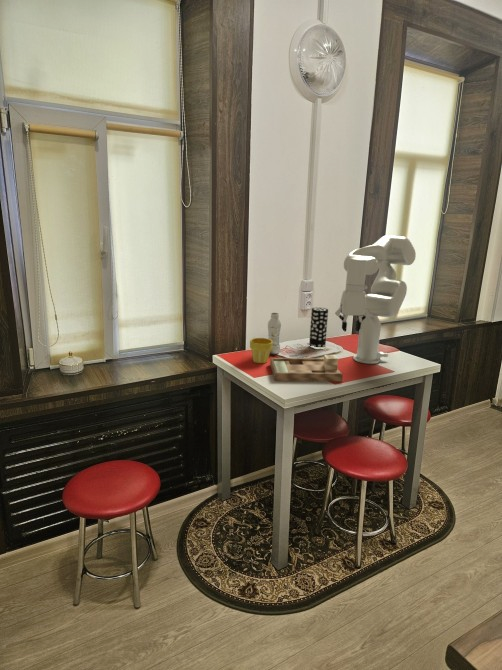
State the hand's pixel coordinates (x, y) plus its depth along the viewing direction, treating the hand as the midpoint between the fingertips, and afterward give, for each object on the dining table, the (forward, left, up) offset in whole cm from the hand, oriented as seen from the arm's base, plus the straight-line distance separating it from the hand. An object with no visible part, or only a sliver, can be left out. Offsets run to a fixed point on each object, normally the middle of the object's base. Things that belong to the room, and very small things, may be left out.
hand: (350, 330), depth 185 cm
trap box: (+18, 0, -19) cm, 27 cm away
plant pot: (+36, -15, -20) cm, 44 cm away
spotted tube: (+5, -37, -20) cm, 42 cm away
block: (+7, 0, -17) cm, 18 cm away
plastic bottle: (+29, -26, -20) cm, 44 cm away
